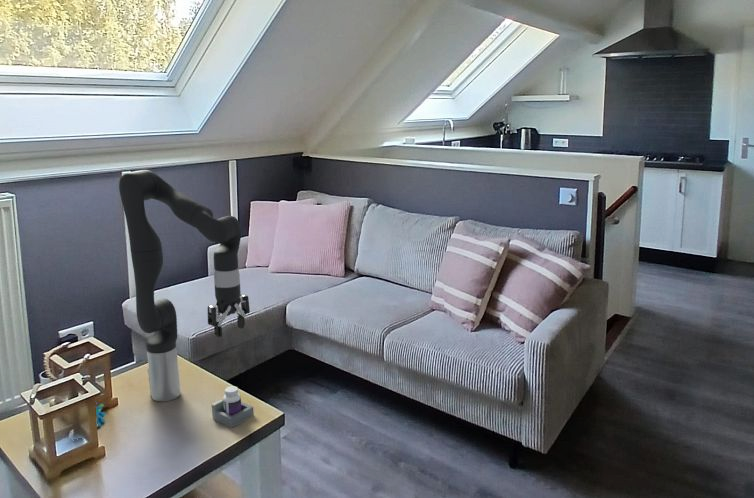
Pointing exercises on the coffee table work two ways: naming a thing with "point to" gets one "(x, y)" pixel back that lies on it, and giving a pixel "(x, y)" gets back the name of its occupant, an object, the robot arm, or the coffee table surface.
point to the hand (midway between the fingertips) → (230, 332)
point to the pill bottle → (232, 401)
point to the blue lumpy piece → (100, 414)
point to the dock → (227, 419)
